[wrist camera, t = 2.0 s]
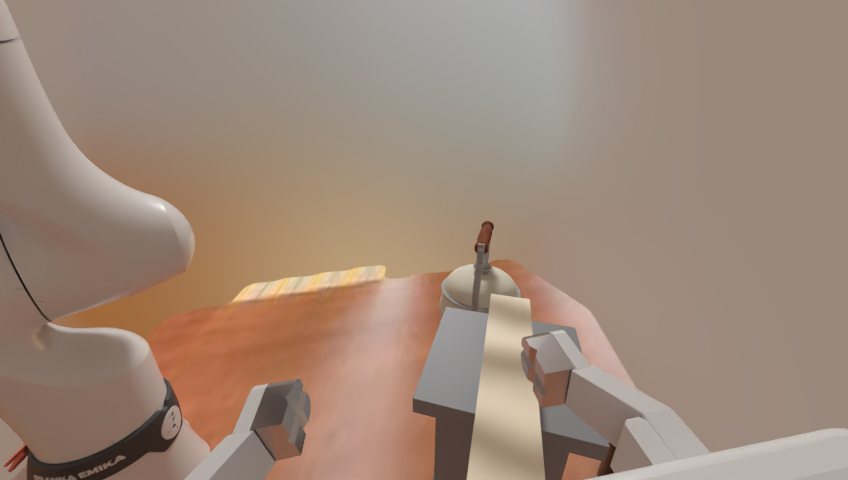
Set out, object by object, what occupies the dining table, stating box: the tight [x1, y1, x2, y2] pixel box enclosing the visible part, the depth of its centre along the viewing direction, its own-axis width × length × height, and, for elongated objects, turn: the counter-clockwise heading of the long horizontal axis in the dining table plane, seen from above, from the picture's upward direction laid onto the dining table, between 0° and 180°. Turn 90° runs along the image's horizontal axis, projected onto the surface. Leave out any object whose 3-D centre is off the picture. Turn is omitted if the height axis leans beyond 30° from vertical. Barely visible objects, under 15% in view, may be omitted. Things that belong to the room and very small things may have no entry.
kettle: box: [439, 221, 520, 318], centre depth 69 cm, size 25×18×25 cm
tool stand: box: [413, 307, 609, 480], centre depth 33 cm, size 13×14×26 cm
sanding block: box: [467, 294, 545, 480], centre depth 23 cm, size 21×4×3 cm, turn 164°
